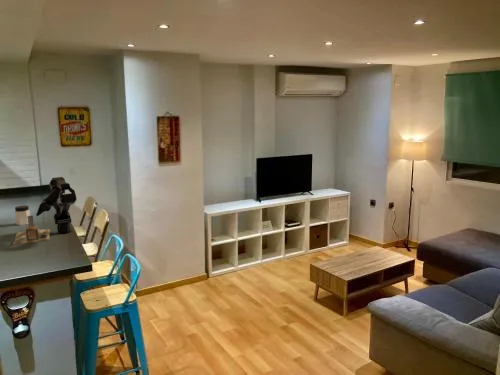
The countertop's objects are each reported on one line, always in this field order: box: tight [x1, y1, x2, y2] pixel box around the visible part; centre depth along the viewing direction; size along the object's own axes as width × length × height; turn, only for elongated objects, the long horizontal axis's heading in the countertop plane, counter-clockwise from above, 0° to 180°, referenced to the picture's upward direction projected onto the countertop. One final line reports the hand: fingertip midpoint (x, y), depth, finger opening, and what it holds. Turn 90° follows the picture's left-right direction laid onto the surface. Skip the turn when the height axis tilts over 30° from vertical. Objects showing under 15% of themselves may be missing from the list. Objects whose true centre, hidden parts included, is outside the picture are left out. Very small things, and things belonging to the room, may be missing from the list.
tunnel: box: [25, 224, 39, 241], centre depth 246 cm, size 6×8×7 cm
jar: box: [14, 205, 31, 226], centre depth 286 cm, size 9×8×12 cm
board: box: [13, 228, 51, 246], centre depth 253 cm, size 18×25×1 cm
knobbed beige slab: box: [26, 214, 40, 239], centre depth 253 cm, size 6×20×10 cm, turn 24°
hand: (37, 214), depth 260 cm, fingers open, 9 cm apart
